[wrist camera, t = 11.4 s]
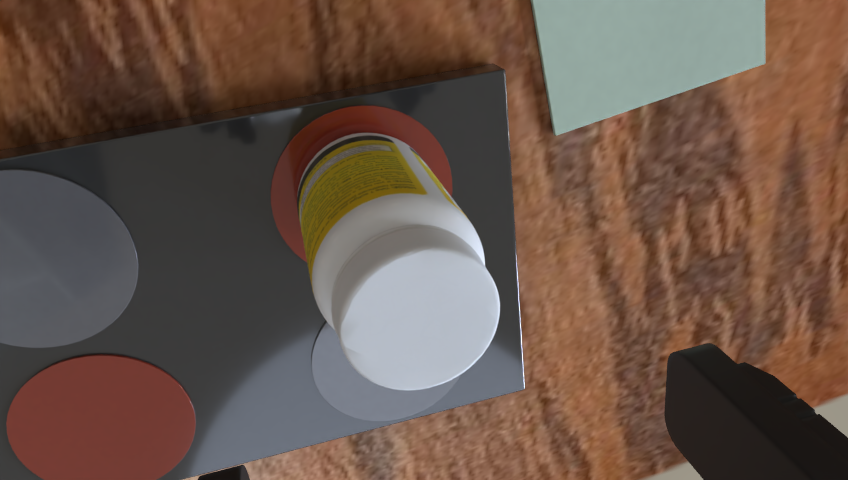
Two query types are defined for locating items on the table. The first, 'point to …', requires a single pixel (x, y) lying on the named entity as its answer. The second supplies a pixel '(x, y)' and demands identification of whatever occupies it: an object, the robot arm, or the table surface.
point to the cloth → (639, 51)
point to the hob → (219, 283)
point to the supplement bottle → (394, 263)
